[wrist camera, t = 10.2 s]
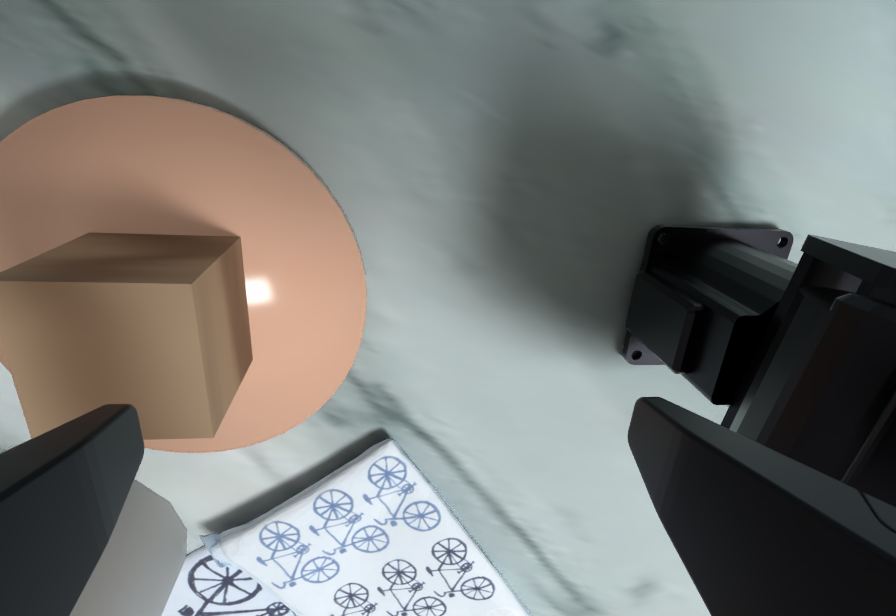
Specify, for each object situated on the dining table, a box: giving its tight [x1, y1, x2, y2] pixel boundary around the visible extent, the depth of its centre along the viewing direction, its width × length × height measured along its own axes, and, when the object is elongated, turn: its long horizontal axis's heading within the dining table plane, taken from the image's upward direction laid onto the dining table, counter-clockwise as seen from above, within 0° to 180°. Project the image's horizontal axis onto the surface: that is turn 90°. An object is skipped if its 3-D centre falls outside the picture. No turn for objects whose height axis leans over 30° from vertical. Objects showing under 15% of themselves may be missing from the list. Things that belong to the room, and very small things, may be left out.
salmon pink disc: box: [0, 96, 367, 453], centre depth 19 cm, size 14×14×1 cm
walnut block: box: [0, 232, 253, 440], centre depth 16 cm, size 5×5×5 cm
